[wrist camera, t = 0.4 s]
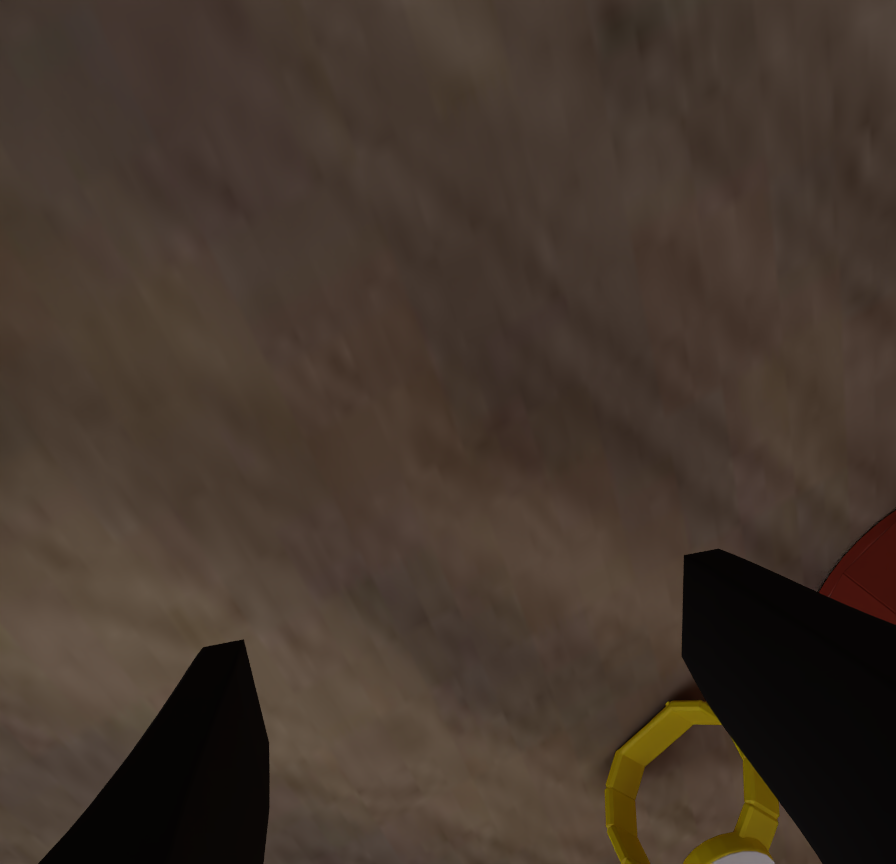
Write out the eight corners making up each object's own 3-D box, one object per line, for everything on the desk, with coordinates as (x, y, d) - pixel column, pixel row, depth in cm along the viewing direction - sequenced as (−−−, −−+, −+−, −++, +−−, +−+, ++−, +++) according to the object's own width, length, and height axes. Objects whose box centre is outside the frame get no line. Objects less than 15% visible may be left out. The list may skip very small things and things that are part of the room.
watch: (681, 659, 26) (782, 795, 20) (730, 693, 27) (838, 830, 21) (570, 775, 27) (638, 933, 21) (621, 802, 28) (698, 961, 22)
